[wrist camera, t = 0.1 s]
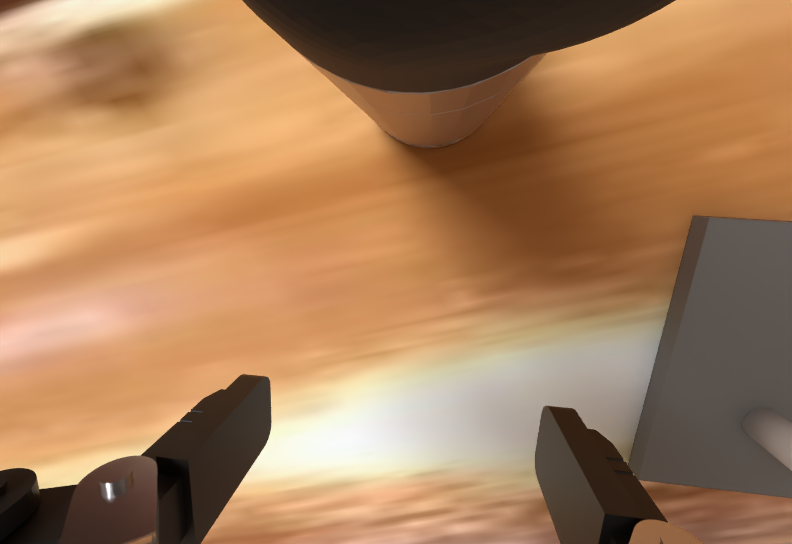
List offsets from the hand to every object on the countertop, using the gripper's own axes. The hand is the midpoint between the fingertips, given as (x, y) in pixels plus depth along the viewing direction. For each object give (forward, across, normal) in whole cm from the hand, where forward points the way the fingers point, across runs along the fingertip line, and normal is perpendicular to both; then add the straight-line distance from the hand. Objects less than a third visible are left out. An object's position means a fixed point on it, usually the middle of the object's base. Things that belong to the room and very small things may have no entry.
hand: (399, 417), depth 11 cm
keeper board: (+17, -25, +4) cm, 30 cm away
